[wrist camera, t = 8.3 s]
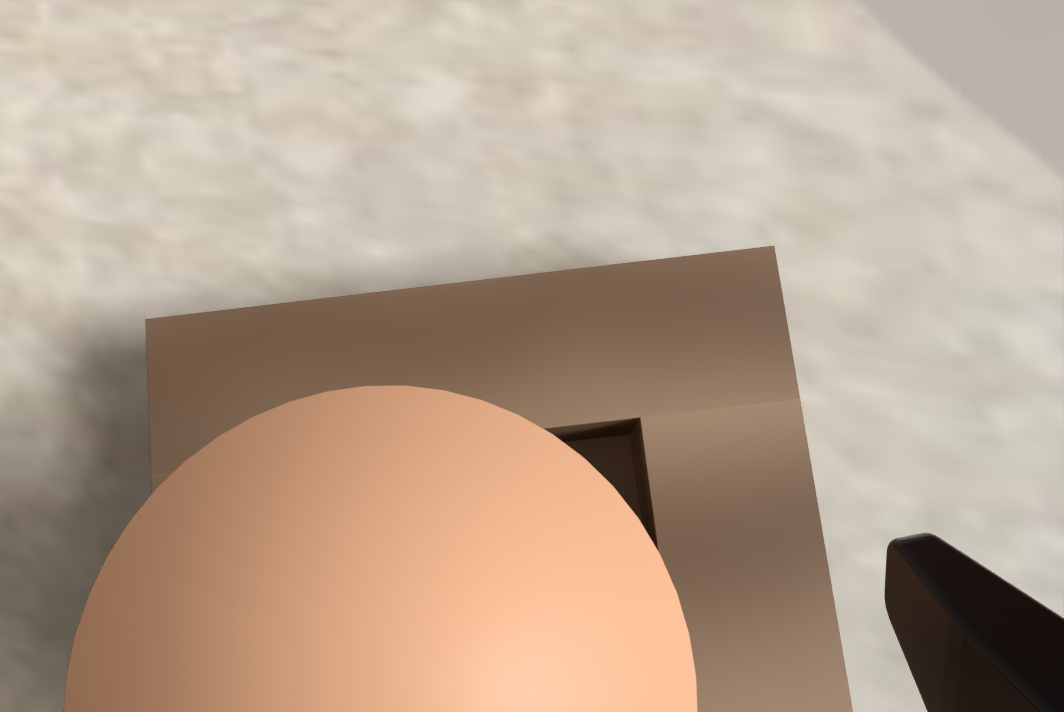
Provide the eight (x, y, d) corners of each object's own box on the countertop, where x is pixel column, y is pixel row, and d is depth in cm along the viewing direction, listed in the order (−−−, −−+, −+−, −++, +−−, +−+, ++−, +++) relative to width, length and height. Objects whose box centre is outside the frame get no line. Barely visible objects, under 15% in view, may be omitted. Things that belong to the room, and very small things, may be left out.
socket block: (836, 873, 18) (890, 936, 15) (235, 940, 18) (171, 1018, 15) (742, 290, 20) (773, 245, 17) (206, 353, 20) (145, 319, 17)
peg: (645, 651, 18) (816, 858, 6) (450, 752, 18) (207, 1186, 6) (548, 458, 19) (521, 285, 7) (360, 552, 19) (-26, 554, 6)
